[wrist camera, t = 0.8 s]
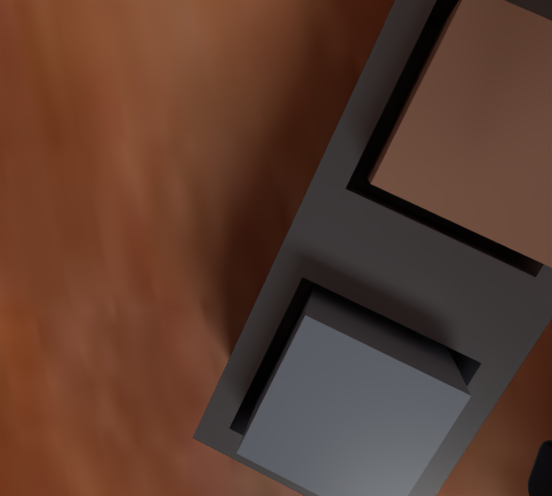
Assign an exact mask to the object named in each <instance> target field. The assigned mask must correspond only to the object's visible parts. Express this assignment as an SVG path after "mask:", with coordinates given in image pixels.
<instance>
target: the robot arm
mask: <svg viewBox="0 0 552 496" xmlns="http://www.w3.org/2000/svg"><path fill="white" fill-rule="evenodd" d="M528 492H529V496H552V440H548V441H545V442H543V443H542V444H541V446H540V448H539V451H538V454H537V457H536V460H535V463H534V465H533V468H532V471H531V474H530V477H529V481H528Z"/></svg>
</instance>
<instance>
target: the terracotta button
mask: <svg viewBox="0 0 552 496" xmlns="http://www.w3.org/2000/svg"><path fill="white" fill-rule="evenodd" d="M366 177H367V179H368V180H369V182H370V184H372V185H374V186H376V187H378V188H381V189H383V190H385V191H387V192H389V193H391V194H393V195H396V196H398V197H400V198H402V199H404V200H406V201H409V202H411V203H413V204H415V205H417V206H419V207H422V208H424V209H426V210H428V211H430V212H432V213H435V214H437V215H439V216H441V217H443V218H445V219H448V220H450V221H452V222H454V223H456V224H458V225H460V226H463V227H465V228H467V229H469V230H471V231H473V232H476V233H478V234H480V235H482V236H484V237H486V238H489V239H491V240H493V241H495V242H497V243H499V244H502V245H504V246H506V247H508V248H510V249H512V250H514V251H517V252H519V253H521V254H523V255H525V256H527V257H530V258H532V259H534V260H536V261H538V262H540V263H543V264H545V265H547V266H549V267H551V268H552V21H551V20H549V19H547V18H544V17H542V16H540V15H537V14H535V13H533V12H530V11H528V10H526V9H523V8H521V7H519V6H516V5H514V4H512V3H509V2H507V1H505V0H459V1H458V3H457V4H456V5H455V7H454V8H453V10H452V11H451V13H450V14H449V16H448V17H447V18H446V20H445V21H444V23H443V24H442V26H441V27H440V28H439V30H438V31H437V33H436V35H435V37H434V39H433V41H432V43H431V45H430V47H429V49H428V51H427V53H426V55H425V57H424V59H423V61H422V63H421V65H420V67H419V69H418V71H417V74H416V76H415V78H414V80H413V82H412V84H411V86H410V88H409V90H408V92H407V94H406V96H405V98H404V100H403V102H402V104H401V106H400V108H399V110H398V112H397V114H396V116H395V118H394V120H393V122H392V124H391V126H390V128H389V130H388V132H387V134H386V136H385V138H384V140H383V142H382V145H381V147H380V149H379V151H378V153H377V155H376V157H375V159H374V161H373V163H372V165H371V167H370V169H369V171H368V173H367V175H366Z"/></svg>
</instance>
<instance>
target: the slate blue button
mask: <svg viewBox="0 0 552 496" xmlns="http://www.w3.org/2000/svg"><path fill="white" fill-rule="evenodd" d="M470 397H471V394H470V392H469V390H468V388H467V386H466V384H465V382H464V380H463V378H462V376H461V374H460V372H459V370H458V368H457V366H456V364H455V362H454V360H453V358H452V356H451V354H450V352H449V350H448V348H447V346H445V345H443V344H441V343H439V342H437V341H434V340H432V339H430V338H428V337H426V336H424V335H422V334H420V333H418V332H416V331H414V330H412V329H410V328H407V327H405V326H403V325H401V324H399V323H397V322H395V321H393V320H391V319H389V318H387V317H385V316H382V315H380V314H378V313H376V312H374V311H372V310H370V309H368V308H366V307H364V306H362V305H360V304H358V303H355V302H353V301H351V300H349V299H347V298H345V297H343V296H341V295H339V294H337V293H335V292H333V291H330V290H328V289H326V288H324V287H322V286H320V285H318V284H316V283H314V282H313V284H312V287H311V289H310V291H309V293H308V295H307V297H306V299H305V301H304V303H303V305H302V307H301V309H300V311H299V313H298V315H297V317H296V319H295V321H294V323H293V325H292V327H291V329H290V331H289V333H288V335H287V337H286V339H285V341H284V343H283V345H282V347H281V349H280V351H279V353H278V355H277V358H276V360H275V362H274V364H273V366H272V368H271V370H270V372H269V374H268V376H267V378H266V380H265V382H264V384H263V386H262V388H261V391H260V394H259V396H258V399H257V401H256V404H255V407H254V409H253V412H252V414H251V417H250V420H249V422H248V425H247V427H246V430H245V433H244V435H243V438H242V440H241V443H240V446H239V448H238V451H237V454H239V455H241V456H242V457H244V458H246V459H248V460H250V461H252V462H254V463H256V464H258V465H260V466H262V467H264V468H266V469H268V470H270V471H272V472H274V473H276V474H278V475H280V476H282V477H284V478H286V479H287V480H289V481H291V482H293V483H295V484H297V485H299V486H301V487H303V488H305V489H307V490H309V491H311V492H313V493H315V494H317V495H319V496H408V495H409V493H410V492H411V490H412V489H413V487H414V485H415V484H416V482H417V481H418V479H419V478H420V476H421V474H422V473H423V471H424V470H425V468H426V467H427V465H428V463H429V462H430V460H431V459H432V457H433V456H434V454H435V452H436V451H437V449H438V448H439V446H440V445H441V443H442V441H443V440H444V438H445V437H446V435H447V434H448V432H449V430H450V429H451V427H452V426H453V424H454V423H455V421H456V419H457V418H458V416H459V415H460V413H461V412H462V410H463V408H464V407H465V405H466V404H467V402H468V401H469V399H470Z"/></svg>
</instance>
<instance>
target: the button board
mask: <svg viewBox="0 0 552 496" xmlns="http://www.w3.org/2000/svg"><path fill="white" fill-rule="evenodd" d="M458 1H459V0H395V2H394V4H393V6H392V8H391V10H390V12H389V15H388V17H387V19H386V21H385V23H384V25H383V28H382V30H381V32H380V34H379V36H378V38H377V40H376V43H375V45H374V47H373V49H372V51H371V53H370V56H369V58H368V60H367V62H366V64H365V66H364V69H363V71H362V73H361V75H360V77H359V79H358V82H357V84H356V86H355V88H354V90H353V92H352V95H351V97H350V99H349V101H348V103H347V105H346V107H345V110H344V112H343V114H342V116H341V118H340V120H339V123H338V125H337V127H336V129H335V131H334V133H333V136H332V138H331V140H330V142H329V144H328V146H327V149H326V151H325V153H324V155H323V157H322V159H321V162H320V164H319V166H318V168H317V170H316V172H315V175H314V177H313V179H312V181H311V183H310V185H309V187H308V190H307V192H306V194H305V196H304V198H303V200H302V203H301V205H300V207H299V209H298V211H297V213H296V216H295V218H294V220H293V222H292V224H291V226H290V229H289V231H288V233H287V235H286V237H285V239H284V242H283V244H282V246H281V248H280V250H279V252H278V255H277V257H276V259H275V261H274V263H273V265H272V267H271V270H270V272H269V274H268V276H267V278H266V280H265V283H264V285H263V287H262V289H261V291H260V293H259V296H258V298H257V300H256V302H255V304H254V306H253V309H252V311H251V313H250V315H249V317H248V319H247V322H246V324H245V326H244V328H243V330H242V332H241V335H240V337H239V339H238V341H237V343H236V345H235V347H234V350H233V352H232V354H231V356H230V358H229V360H228V363H227V365H226V367H225V369H224V371H223V373H222V376H221V378H220V380H219V382H218V384H217V386H216V389H215V391H214V393H213V395H212V397H211V399H210V402H209V404H208V406H207V408H206V410H205V412H204V415H203V417H202V419H201V421H200V423H199V425H198V427H197V430H196V432H195V434H194V436H193V438H194V439H196V440H197V441H199V442H201V443H203V444H205V445H207V446H209V447H211V448H213V449H215V450H217V451H219V452H221V453H223V454H225V455H227V456H229V457H231V458H233V459H235V460H237V461H238V462H240V463H242V464H244V465H246V466H248V467H250V468H252V469H254V470H256V471H258V472H260V473H262V474H264V475H266V476H268V477H270V478H272V479H274V480H276V481H278V482H279V483H281V484H283V485H285V486H287V487H289V488H291V489H293V490H295V491H297V492H299V493H301V494H303V495H305V496H319V495H317V494H315V493H313V492H311V491H309V490H307V489H305V488H303V487H301V486H299V485H297V484H295V483H293V482H291V481H289V480H287V479H286V478H284V477H282V476H280V475H278V474H276V473H274V472H272V471H270V470H268V469H266V468H264V467H262V466H260V465H258V464H256V463H254V462H252V461H250V460H248V459H246V458H244V457H242V456H241V455H239V454H237V451H238V448H239V446H240V443H241V440H242V438H243V435H244V433H245V430H246V427H247V425H248V422H249V420H250V417H251V414H252V412H253V409H254V407H255V404H256V401H257V399H258V396H259V394H260V391H261V388H262V386H263V384H264V382H265V380H266V378H267V376H268V374H269V372H270V370H271V368H272V366H273V364H274V362H275V360H276V358H277V355H278V353H279V351H280V349H281V347H282V345H283V343H284V341H285V339H286V337H287V335H288V333H289V331H290V329H291V327H292V325H293V323H294V321H295V319H296V317H297V315H298V313H299V311H300V309H301V307H302V305H303V303H304V301H305V299H306V297H307V295H308V293H309V291H310V289H311V287H312V284H313V282H314V283H316V284H318V285H320V286H322V287H324V288H326V289H328V290H330V291H333V292H335V293H337V294H339V295H341V296H343V297H345V298H347V299H349V300H351V301H353V302H355V303H358V304H360V305H362V306H364V307H366V308H368V309H370V310H372V311H374V312H376V313H378V314H380V315H382V316H385V317H387V318H389V319H391V320H393V321H395V322H397V323H399V324H401V325H403V326H405V327H407V328H410V329H412V330H414V331H416V332H418V333H420V334H422V335H424V336H426V337H428V338H430V339H432V340H434V341H437V342H439V343H441V344H443V345H445V346H447V348H448V350H449V352H450V354H451V356H452V358H453V360H454V362H455V364H456V366H457V368H458V370H459V372H460V374H461V376H462V378H463V380H464V382H465V384H466V386H467V388H468V390H469V392H470V394H471V397H470V399H469V401H468V402H467V404H466V405H465V407H464V408H463V410H462V412H461V413H460V415H459V416H458V418H457V419H456V421H455V423H454V424H453V426H452V427H451V429H450V430H449V432H448V434H447V435H446V437H445V438H444V440H443V441H442V443H441V445H440V446H439V448H438V449H437V451H436V452H435V454H434V456H433V457H432V459H431V460H430V462H429V463H428V465H427V467H426V468H425V470H424V471H423V473H422V474H421V476H420V478H419V479H418V481H417V482H416V484H415V485H414V487H413V489H412V490H411V492H410V493H409V495H408V496H436V494H437V493H438V491H439V490H440V488H441V487H442V485H443V483H444V482H445V480H446V479H447V477H448V476H449V474H450V473H451V471H452V470H453V468H454V467H455V465H456V464H457V462H458V461H459V459H460V458H461V456H462V455H463V453H464V451H465V450H466V448H467V447H468V445H469V444H470V442H471V441H472V439H473V438H474V436H475V435H476V433H477V432H478V430H479V429H480V427H481V426H482V424H483V422H484V421H485V419H486V418H487V416H488V415H489V413H490V412H491V410H492V409H493V407H494V406H495V404H496V403H497V401H498V400H499V398H500V397H501V395H502V393H503V392H504V390H505V389H506V387H507V386H508V384H509V383H510V381H511V380H512V378H513V377H514V375H515V374H516V372H517V371H518V369H519V368H520V366H521V365H522V363H523V361H524V360H525V358H526V357H527V355H528V354H529V352H530V351H531V349H532V348H533V346H534V345H535V343H536V342H537V340H538V339H539V337H540V336H541V334H542V332H543V331H544V329H545V328H546V326H547V325H548V323H549V322H550V320H551V319H552V268H551V267H549V266H547V265H545V264H543V263H540V262H538V261H536V260H534V259H532V258H530V257H527V256H525V255H523V254H521V253H519V252H517V251H514V250H512V249H510V248H508V247H506V246H504V245H502V244H499V243H497V242H495V241H493V240H491V239H489V238H486V237H484V236H482V235H480V234H478V233H476V232H473V231H471V230H469V229H467V228H465V227H463V226H460V225H458V224H456V223H454V222H452V221H450V220H448V219H445V218H443V217H441V216H439V215H437V214H435V213H432V212H430V211H428V210H426V209H424V208H422V207H419V206H417V205H415V204H413V203H411V202H409V201H406V200H404V199H402V198H400V197H398V196H396V195H393V194H391V193H389V192H387V191H385V190H383V189H381V188H378V187H376V186H374V185H372V184H370V182H369V180H368V179H367V177H366V175H367V173H368V171H369V169H370V167H371V165H372V163H373V161H374V159H375V157H376V155H377V153H378V151H379V149H380V147H381V145H382V142H383V140H384V138H385V136H386V134H387V132H388V130H389V128H390V126H391V124H392V122H393V120H394V118H395V116H396V114H397V112H398V110H399V108H400V106H401V104H402V102H403V100H404V98H405V96H406V94H407V92H408V90H409V88H410V86H411V84H412V82H413V80H414V78H415V76H416V74H417V71H418V69H419V67H420V65H421V63H422V61H423V59H424V57H425V55H426V53H427V51H428V49H429V47H430V45H431V43H432V41H433V39H434V37H435V35H436V33H437V31H438V30H439V28H440V27H441V26H442V24H443V23H444V21H445V20H446V18H447V17H448V16H449V14H450V13H451V11H452V10H453V8H454V7H455V5H456V4H457V3H458ZM505 1H507V2H509V3H512V4H514V5H516V6H519V7H521V8H523V9H526V10H528V11H530V12H533V13H535V14H537V15H540V16H542V17H544V18H547V19H549V20H551V21H552V0H505Z"/></svg>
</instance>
